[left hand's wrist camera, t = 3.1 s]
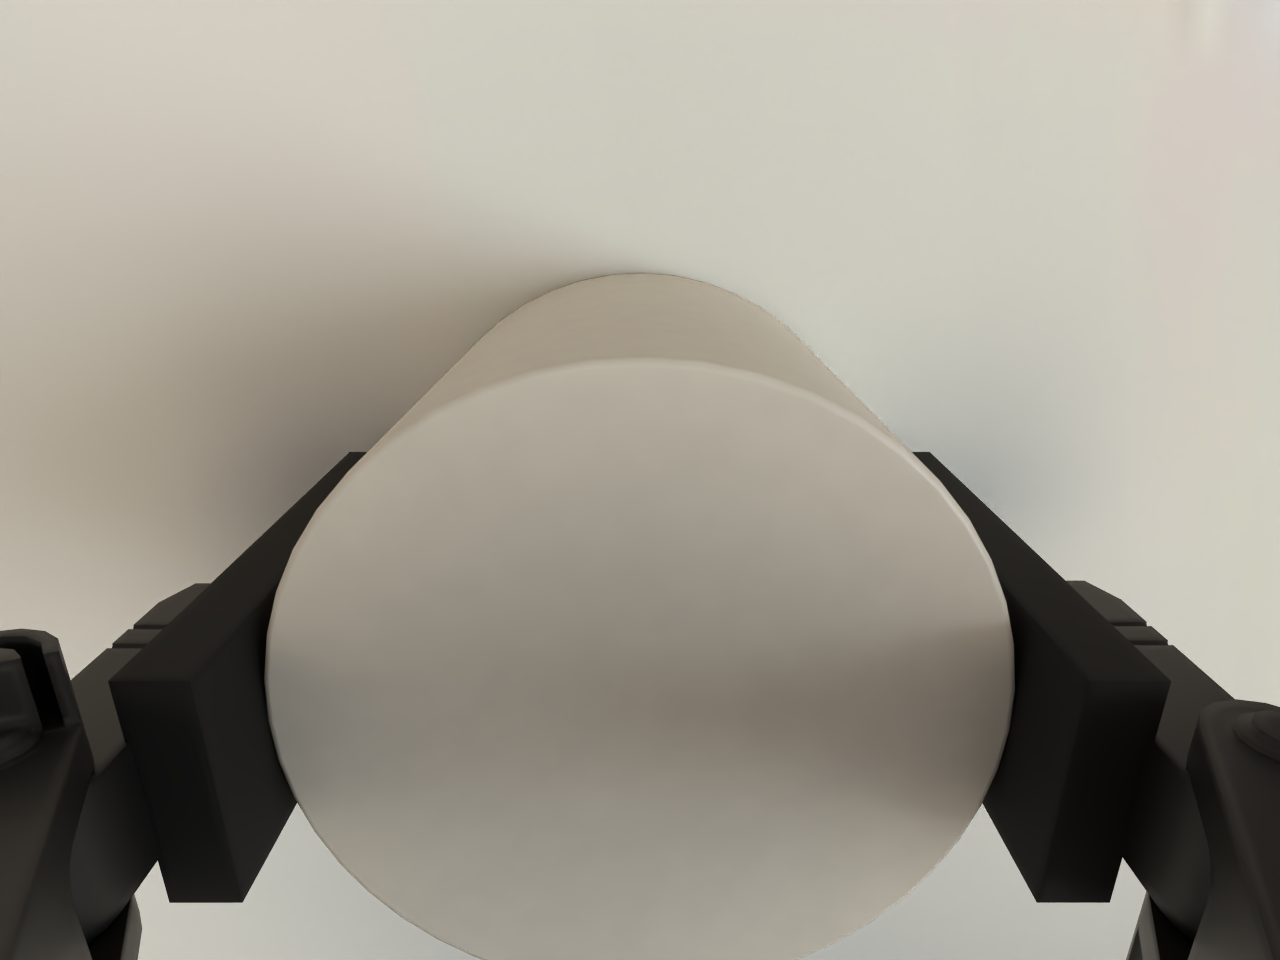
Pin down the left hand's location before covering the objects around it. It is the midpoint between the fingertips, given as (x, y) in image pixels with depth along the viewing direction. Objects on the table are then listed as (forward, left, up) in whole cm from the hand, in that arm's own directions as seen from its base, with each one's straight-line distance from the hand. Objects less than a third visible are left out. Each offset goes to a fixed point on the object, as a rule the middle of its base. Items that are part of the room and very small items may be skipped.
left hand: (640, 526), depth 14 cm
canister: (0, 0, -2) cm, 2 cm away
